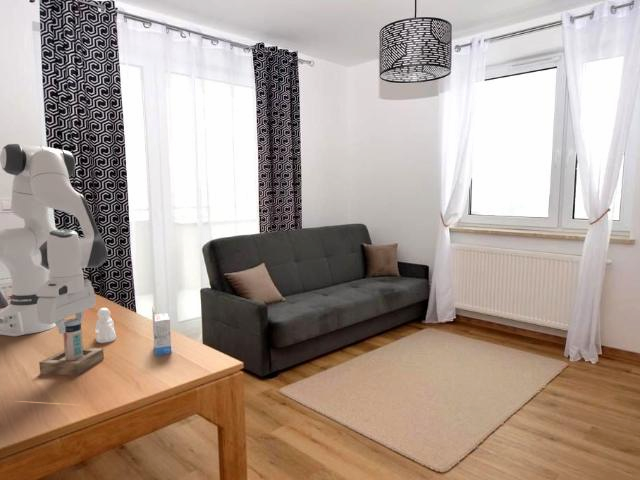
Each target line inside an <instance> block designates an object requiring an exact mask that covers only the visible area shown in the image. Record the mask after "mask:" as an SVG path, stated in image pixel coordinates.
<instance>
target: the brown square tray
mask: <svg viewBox="0 0 640 480" xmlns="http://www.w3.org/2000/svg"><path fill="white" fill-rule="evenodd" d="M104 356H105V355H104V348H100V347H99V348H97V347H96V348H95V347H83V357H82V358H80V359H78V360H76V361H67V360H66V359H65V349H62V350H60V351H59V352H56V353H54V354H52V355H50V356H49V357H47V358H44V359H43V360H41V361H39V363H38V364H39V375H57V376H58V375H60V376H61V375H62V376H77V377H78V376H80V375H81V374H83V373H85V372H87V370H89V369H91V368H92V367H94V366H95V365H96V364H98V363H100V362H101V361H103V360H104V358H105V357H104Z"/></svg>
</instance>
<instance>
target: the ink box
mask: <svg viewBox="0 0 640 480" xmlns="http://www.w3.org/2000/svg"><path fill="white" fill-rule="evenodd" d="M151 309H152V310H151V311H152V332H153V348H154V349H153V350H154V352H155V356H160V355H167V354H168V355H169V354H172V339H171V337H172V336H171V319H170V316H169V314H168V313H167V312H166V313H160V314H159V313H158V314H155V313H156V312H155V309H154V306H152V308H151Z"/></svg>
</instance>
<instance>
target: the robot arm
mask: <svg viewBox="0 0 640 480" xmlns="http://www.w3.org/2000/svg"><path fill="white" fill-rule="evenodd" d="M0 165H1V168H2V170H3V171H4V172H5V173H6V174H9V175H12V176H13V180H12V181H13V182H12V187H11V188H12V189H11V203H10V209H11V212H12V213H13V214H14V215H15V216H16V217H18V218H20V219H22V220H23V223H24V227H16V228H5V229H2V230H0V262H1V263H2V264H3V265H4V266H5V267H6V268H7V270H8V272H9V273H10V278H11V282H12V284H11V285H12V290H13V291H12V292H13V293H12V294H11V295H9V296H7V299H6V300H10V301H9V304H8V305H7V306H6V307H4V308H3V309H2V310H1V311H0V335H2V336H8V337H18V336H23V335H29V334H30V335H31V334H36V333H40V332H44V331H48V330H50V329H53V328H54V327H57V328H58V333H59V334H64V333H66V332H68V330H67V329H68V327H67V326H65V325H64V323H63V322H65V319H66V318H69V317H72V316H75V318H74V319H79V321H80V322H81V326H82V325H83V321H82V320H83V318H84V315H85V311H86V310H89V309H92V308H94V307H95V305H96V301H97V300H96V295H95V294H96V293H95V289H94V286H92V281H91V280H90V279H88V278H84V270H83V269H84V268H87V269H90V268H91V269H93V268H94V269H95V268H99V267H100V266H102V265H103V264H104V263H105V262H106V261H107V260H108V247H107V245H106V243H105V241H104V239H103V237H102V235H101V234H100V233H101V232H100V231H99V228H98V226H97V224H96V221H95V218H94V215H93V214H92V211H91V208H90V205H89V204H88V201H87V200H86V197H84V195H83V194H82V193H79V192H77V191H76V189H75V188H74V187H73V186H72V184H71V181H70V178H71V177H72V176H73V175H74V172H75V170H76V160H75V157H74V155H73V154H72V152H70V151H69V150H65V149H58V148H54V147H49V146H43V145H32V144H31V145H29V144H18V143H9V144H6V145H5V146H3V148H2V151H1V152H0ZM48 208H49V209H53V210H57V211H61V212H64V213H67V214H70V215H72V216H73V217H75V218H76V219H77V220H78V223H79V225H80V228H81V230H82V233H83V235H84V237H79V234H78V232H77V231H75V230H73V229H66V228H65V229H64V228H63V229H58V228H57V227H55V226H54V225H53V224H52V222H51V221H50V220H51V219H50V218H49V213H48V212H49V211H48ZM34 256H40V265H36V264H35V263H34V262H33V259H32V257H34ZM44 268H45V269H44ZM46 269H47V270H49V273H48V272H47V270H46Z"/></svg>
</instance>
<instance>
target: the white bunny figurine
mask: <svg viewBox="0 0 640 480" xmlns="http://www.w3.org/2000/svg"><path fill="white" fill-rule="evenodd" d="M111 313H112V312H111V311H110V310H109V308H107V307H101V308H100V309H99V310H98V312H97V313H96V314H95V315H96V316H98V318H97V321H96V323H95V329H94V332H95V333H96V334H97V336H96V339H95V340H96V342H97V343H100V344H107V343H111V342H113V341H114V342H115V339H117V333H116V331H115V326H114V325H115V323H114V320H113V319H112V317H110V315H111Z"/></svg>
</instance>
